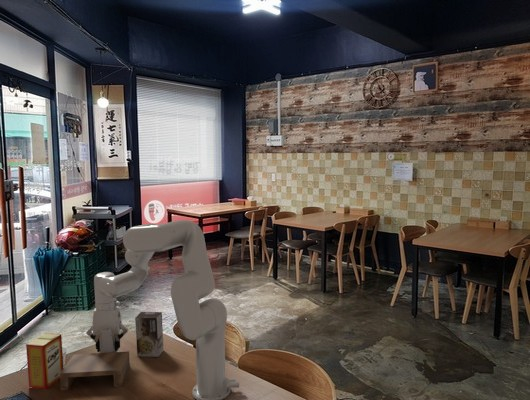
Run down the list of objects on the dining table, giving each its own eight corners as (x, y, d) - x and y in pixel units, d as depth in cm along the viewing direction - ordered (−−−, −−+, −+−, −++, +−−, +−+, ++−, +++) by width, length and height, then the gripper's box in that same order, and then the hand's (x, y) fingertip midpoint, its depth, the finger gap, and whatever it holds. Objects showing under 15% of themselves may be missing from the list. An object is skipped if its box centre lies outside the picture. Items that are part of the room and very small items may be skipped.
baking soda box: (45, 389, 147) (42, 344, 145) (29, 387, 148) (25, 343, 147) (63, 375, 156) (61, 333, 155) (47, 374, 158) (45, 332, 156)
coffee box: (164, 349, 176) (162, 311, 175) (158, 357, 170) (157, 317, 168) (142, 349, 177) (140, 311, 176) (136, 356, 171) (134, 317, 169)
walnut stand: (129, 366, 163) (129, 351, 162) (121, 386, 149) (120, 369, 148) (74, 369, 161) (73, 354, 160) (60, 390, 147) (59, 373, 146)
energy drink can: (113, 364, 164) (112, 326, 163) (98, 365, 164) (96, 327, 163) (119, 357, 170) (117, 320, 169) (104, 357, 170) (102, 320, 169)
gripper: (131, 300, 169) (133, 344, 171) (85, 302, 168) (88, 347, 169) (127, 307, 162) (129, 353, 164) (79, 309, 160) (82, 356, 162)
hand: (108, 349), depth 167 cm, fingers closed on energy drink can, 6 cm apart
